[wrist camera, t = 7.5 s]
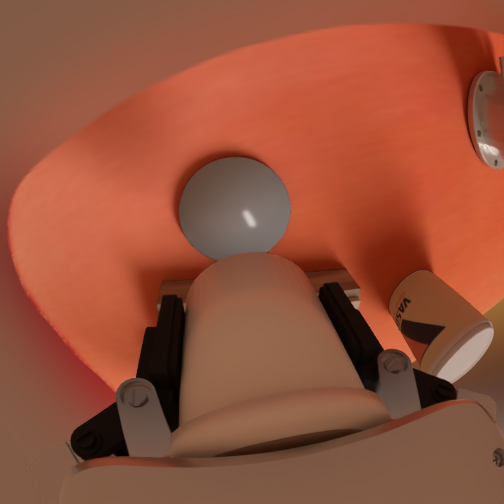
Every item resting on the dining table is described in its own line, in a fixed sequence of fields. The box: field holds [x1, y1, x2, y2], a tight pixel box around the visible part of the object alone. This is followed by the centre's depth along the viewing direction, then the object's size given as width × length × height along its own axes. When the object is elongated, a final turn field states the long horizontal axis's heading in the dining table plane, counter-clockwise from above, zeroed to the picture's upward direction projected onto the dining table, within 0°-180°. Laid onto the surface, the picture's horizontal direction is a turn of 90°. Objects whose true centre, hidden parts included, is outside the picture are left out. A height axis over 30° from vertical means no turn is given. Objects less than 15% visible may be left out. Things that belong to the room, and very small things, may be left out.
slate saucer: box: [179, 156, 291, 261], centre depth 22 cm, size 9×9×1 cm
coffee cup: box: [389, 270, 494, 383], centre depth 25 cm, size 9×9×12 cm
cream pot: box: [170, 252, 393, 458], centre depth 9 cm, size 6×6×7 cm
